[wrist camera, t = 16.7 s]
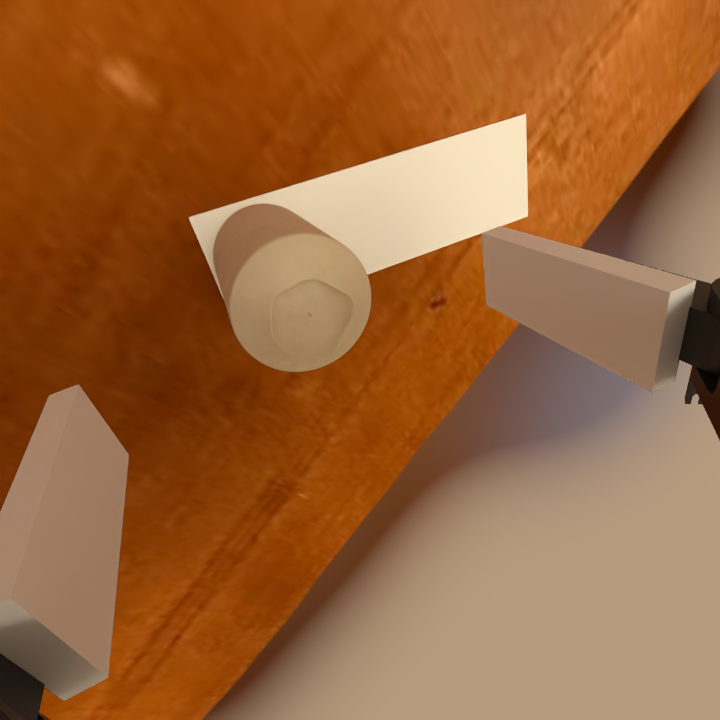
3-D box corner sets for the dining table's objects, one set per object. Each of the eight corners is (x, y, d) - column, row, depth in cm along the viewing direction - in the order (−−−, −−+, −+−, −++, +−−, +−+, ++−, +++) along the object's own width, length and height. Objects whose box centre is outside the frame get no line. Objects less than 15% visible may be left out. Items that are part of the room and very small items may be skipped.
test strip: (233, 321, 25) (233, 323, 25) (188, 217, 22) (188, 217, 21) (525, 215, 29) (528, 216, 28) (523, 113, 26) (526, 113, 25)
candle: (296, 188, 23) (367, 218, 14) (326, 284, 26) (399, 355, 17) (193, 222, 22) (205, 276, 13) (236, 318, 24) (268, 412, 16)
